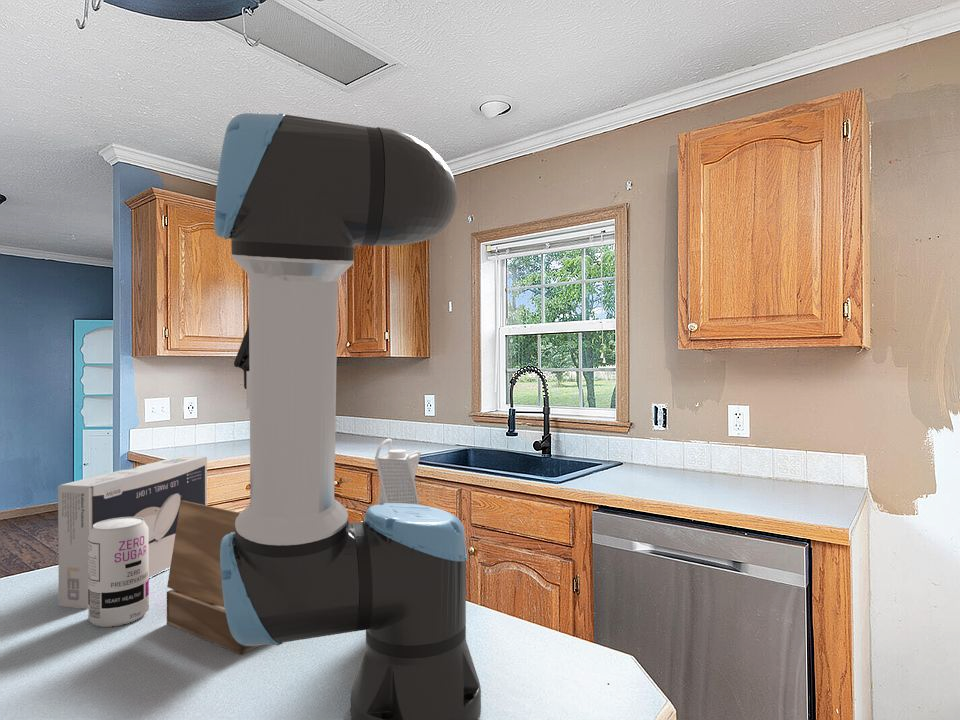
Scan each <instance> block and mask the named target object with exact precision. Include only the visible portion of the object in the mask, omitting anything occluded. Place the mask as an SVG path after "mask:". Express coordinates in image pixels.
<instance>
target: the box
mask: <svg viewBox="0 0 960 720" xmlns="http://www.w3.org/2000/svg"><path fill="white" fill-rule="evenodd" d="M166 624H167V625H168V624H169V625H168V626H170V625H171V626H170V627H173V628H175V627H176V628H175V629H178V628H179V629H178V630H180V629H181V630H180V631H182V630H183V632H185V633H187V632H188V634H190V635H192V636H196V637H197V638H200V639H202V640H204V641H208V642H210V643H211V644H214V645H217V646H219V647H222V648H225V649H226V650H228V651H229V650H230V651H231V652H234V653H237V654H239V655H243V654H246V653H248V652H250V651H252V650H254V649H256V648H258V647H260V646H261V645H255V646H244V645H241V644H240V643H238V642H237V641H236V640H235V639H234V638H233V636H232V635H231V632H230V629H229V626H228V622H227V617H226V612H225V607H222V606H219V605H216V604H214V603H211V602H208V601H205V600H202V599H199V598H197V597H194V596H191V595H188V594H185V593H182V592H180V591H177V590H174V589H170V590H168V591H166Z"/></svg>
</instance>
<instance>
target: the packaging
mask: <svg viewBox="0 0 960 720" xmlns="http://www.w3.org/2000/svg"><path fill="white" fill-rule="evenodd" d="M181 501H188V502H193V503H197V504H202V505H207V506H208V457H207V456H199V455H198V456H196V455H195V456H194V455H180V456H175V457H171V458H168V459H163V460H159V461H155V462H150V463H147V464H143V465H142V464H141V465H137V466H135V467H133V468H131V469H129V468H128V469H120V470H116V471H112V472H108V473H104V474H100V475H96V476H91V477H87V478H82V479H79V480H75V481H71V482H70V481H69V482H67V483H62V484H59V485H58V486H57V509H58V510H57V512H58V514H57V517H58V518H57V519H58V520H57V523H58V524H57V525H58V526H57V528H58V529H57V531H58V538H57V539H58V544H57V545H58V606H59V607H64V608H65V607H66V608H77V609H86V608H88V536H89V534H90V532H91V530H92V528H93V525H94V524H95V523H97V522H100V521H103V520H107V519H112V518H119V517H141V518H143V519H144V522H145V523H146V525H147V526H148V529H149V577H151V576H153V575H155V574H157V573H159V572H161V571H162V570H165V569H166V568H169V567H170V566H171V559H172V553H173V547H174V540H175V534H176V528H177V521H178V515H179V509H180V502H181Z"/></svg>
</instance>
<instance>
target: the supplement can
mask: <svg viewBox="0 0 960 720" xmlns="http://www.w3.org/2000/svg"><path fill="white" fill-rule="evenodd" d="M149 580H150V579H149V529H148V526H147V525H146V523H145V522H144V519H143V518H141V517H119V518H112V519H107V520H103V521H100V522H97V523H95V524H94V525H93V528H92V530H91V532H90V534H89V536H88V609H87V610H88V616H87V617H88V621H89V622H90V623H92V624H93V625H94V626H96V627H99V626H100V628H113V627H112V626H114V627H120V626H124V625H123V624H125V625H128V624H131V623H134V622H136V621H138V620H140V619H141V618H142V617H144V616H145V614H146V613H147V612H148V611H149V609H150V602H149V601H150V593H149V592H150V587H149V586H150V581H149ZM139 618H140V619H139ZM137 619H138V620H137ZM135 620H136V621H135ZM133 621H134V622H133ZM130 622H131V623H130Z"/></svg>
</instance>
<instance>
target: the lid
mask: <svg viewBox="0 0 960 720" xmlns="http://www.w3.org/2000/svg"><path fill="white" fill-rule="evenodd" d="M240 513H241V512H239V511H234V510H229V509H225V508H219V507H217V506H210V505H208V504H207V505H202V504H197V503H193V502H188V501H181V502H180V509H179V515H178V521H177V528H176V534H175V540H174V547H173V553H172V559H171V566H170V569H169V573H168V580H167V586H166V587H167V588H168V589H170V590H173V589H174V590H177V591H180V592H182V593H185V594H188V595H191V596H194V597H197V598H199V599H202V600H205V601H208V602H211V603H214V604H216V605H219V606H222V607H225V606H224V600H223V592H222V575H221V567H220V547H221V541H222V538H223V537H224V536H225V535H227V534H230V533H231V532H235V521H236V518H237V516H238V515H239V514H240Z"/></svg>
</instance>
